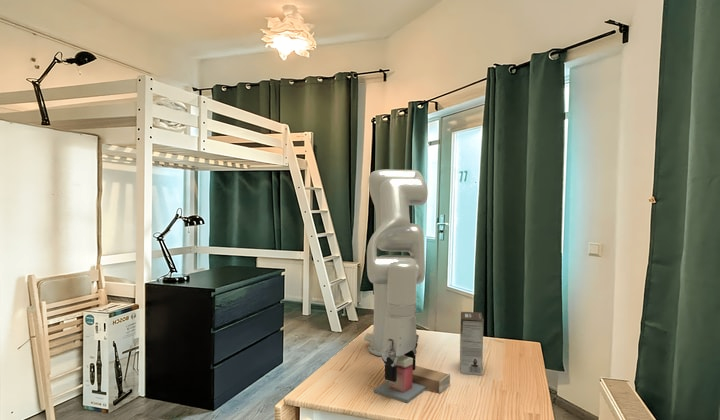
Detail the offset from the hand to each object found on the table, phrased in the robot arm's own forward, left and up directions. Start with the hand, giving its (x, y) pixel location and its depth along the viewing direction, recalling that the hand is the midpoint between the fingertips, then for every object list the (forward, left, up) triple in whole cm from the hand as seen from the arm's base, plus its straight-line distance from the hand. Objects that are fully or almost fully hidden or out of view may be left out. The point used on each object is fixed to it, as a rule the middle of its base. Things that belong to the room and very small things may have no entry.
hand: (400, 374), depth 114 cm
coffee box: (+9, +26, -4) cm, 28 cm away
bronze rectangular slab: (+3, +8, -4) cm, 10 cm away
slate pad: (0, 0, -4) cm, 4 cm away
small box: (0, 0, -4) cm, 4 cm away
